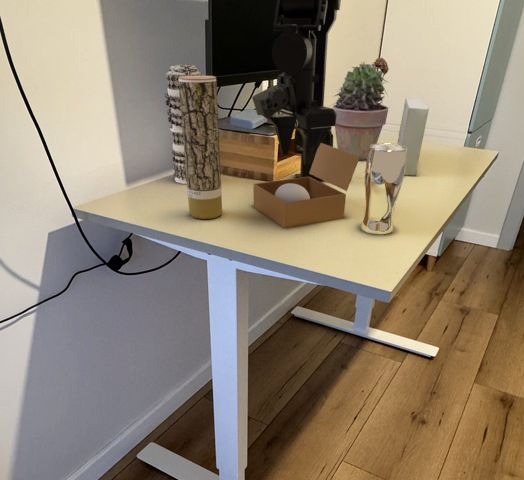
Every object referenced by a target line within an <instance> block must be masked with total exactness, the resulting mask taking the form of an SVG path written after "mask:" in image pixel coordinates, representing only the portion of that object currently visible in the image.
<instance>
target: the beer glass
mask: <svg viewBox="0 0 524 480" xmlns="http://www.w3.org/2000/svg"><path fill="white" fill-rule="evenodd" d="M406 154H407V147H406V146H404V145H400V144H397V143H392V142H377V143H376V144H372V145H370V146H369V152H368V157H367V160H366V163H365V169H364V171H365V172H364V197H365V207H364V208H365V209H364V215H363V219H362V221H361V226H360V228H361V230H362V231H363V232H365V233H368V234H371V235H388V234H390V233H392V232H393V231H394V214H395V208H396V205H397V201H398V199H399V195H400V192H401V190H402V186H403V183H404V178H405V175H404V173H405V166H406Z"/></svg>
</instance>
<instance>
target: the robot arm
mask: <svg viewBox="0 0 524 480" xmlns="http://www.w3.org/2000/svg"><path fill="white" fill-rule="evenodd" d="M341 2H342V0H276V6H275V11H274V21H273V31H282V34H281V35H279V36H278V37H277V38H276V40H275V41H274V43H273V46H272V49H271V57H272V58H271V59H272V62H273V64H274V65H275V67H276V69H278V70H279V71H280V72H281V73H282V74H277V75H278V76H277V77H276V85H273V86H270V87H268V88H266V89H264V90H261V91H260V92H259V93H257V94H254V95H253V96H252V98H251V99H252V101H253V105H254V109H255V111H256V115H258V116H262V117H263V118H265V119H266V120H268V121H269V122H270V123H271V124H272V126H273V127H274V130H275V134H276V137H277V141H278V145H279V149H280V153H281V155H283V156H287V155H288V153H289V150H290V147H291V143H292V139H293V135H294V154H295V155H298V154H300V168H299V169H300V172H299V173H295V174H294V177H295V178H302V177H311V178H313V179H315V180H317V181H319V182H321V181H323V180H322V179H320V178H318V177H315V176H313V175H311V174H309V172H310V169H311V167H312V164H313V161H314V158H315V155H316V152H317V150H318V148H319V146H320V144H321V143H323V144H326V145H328V146H331V147H334V134H333V133H332V128H333V127H335V126H336V118H337V114H336V112H335V111H334V110H333V107H329V106H324V103H325V90H326V88H325V87H326V73H327V55H328V43H329V32H330V31H331V29H332V28H333V26H334V24H335V22H336V21H337V16H338V15H337V14H338V11H340V10H341ZM296 123H297V126H296Z"/></svg>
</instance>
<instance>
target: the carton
mask: <svg viewBox="0 0 524 480" xmlns="http://www.w3.org/2000/svg"><path fill="white" fill-rule="evenodd" d="M288 183H293V184H298V185H300V186H302V187H303V188H304V189H306V191H307V192H308V193H309V196H310V199H307V200H301V201H294V202H287V203H286V202H284V201H283V200H281V199H279V198H278V197H276V196H275V193H276V190H277V189H278V188H279V187H280V186H282V185H284V184H288ZM252 187H253V188H252V189H253V193H252V194H253V196H252V198H253V199H252V200H253V207H254V208H255V209H257V210H258V211H260V212H261V213H262V214H264V215H266V216H267V217H268V218H270V219H272V220H273V221H274V222H276V223H277V224H278V225H280V226H282V227H283V228H284V229H286V228H292V227H298V226H305V225H309V224H315V223H321V222H327V221H328V222H329V221H333V220H334V221H335V220H339V219H343V218H345V211H346V210H345V209H346V199H347V198H346V197H347V194H346V193H345V192H342V191H340V190H338V189H337V188H333V187H332V186H329V184H328V185H327V184H325V183H323V182H321V181H317V180H315V179H313V178H311V177H302V178H297V177H295V178H288V179H280V180H273V181H266V182H265V181H264V182H257V183H253V186H252Z"/></svg>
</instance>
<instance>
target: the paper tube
mask: <svg viewBox="0 0 524 480" xmlns="http://www.w3.org/2000/svg"><path fill="white" fill-rule="evenodd" d="M178 78H179V80H178V83H179V95H180V107H181V119H182V131H183V143H184V155H185V167H186V180H187V184H186V190H187V201H188V213H189V215H190V216H191V217H193V218H195V219H200V220H209V219H216V218H218V217H220V216H221V215H222V213H223V199H222V198H223V197H222V174H221V173H222V172H221V151H220V130H219V128H220V127H219V126H220V125H219V109H218V108H219V107H218V105H219V104H218V85H217V84H218V83H217V82H218V81H217V76H215V75H200V76H181V77H178Z"/></svg>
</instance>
